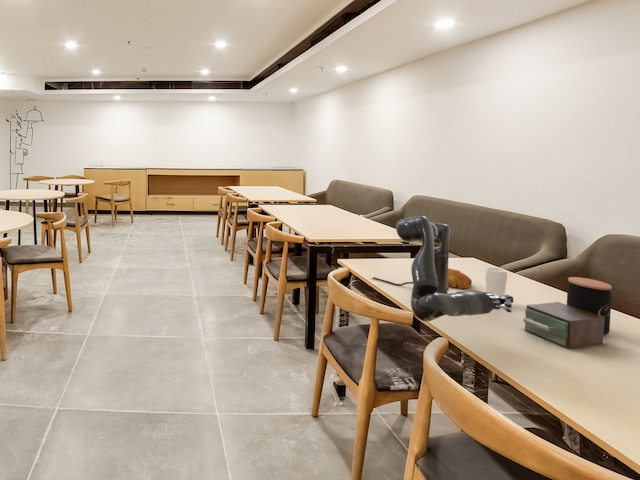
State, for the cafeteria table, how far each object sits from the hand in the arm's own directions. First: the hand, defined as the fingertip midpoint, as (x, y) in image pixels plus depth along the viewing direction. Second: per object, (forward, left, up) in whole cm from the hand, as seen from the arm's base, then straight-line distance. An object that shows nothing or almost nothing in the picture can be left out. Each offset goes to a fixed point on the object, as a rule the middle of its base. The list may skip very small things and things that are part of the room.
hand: (510, 298), depth 124 cm
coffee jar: (+19, +38, -16) cm, 45 cm away
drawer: (+11, +18, -15) cm, 26 cm away
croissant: (-24, +56, -16) cm, 63 cm away
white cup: (-7, +42, -16) cm, 45 cm away
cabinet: (+13, +22, -16) cm, 30 cm away
